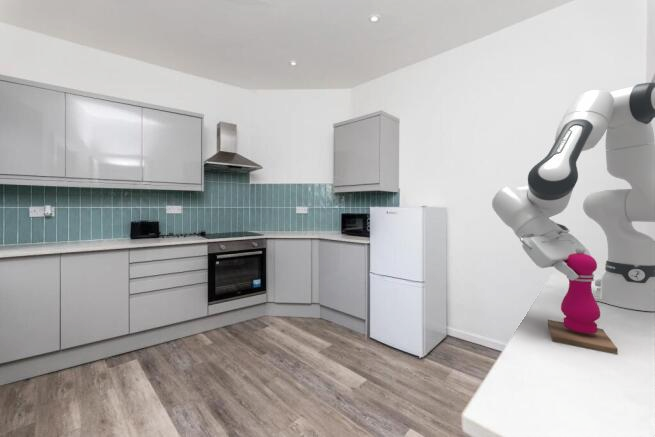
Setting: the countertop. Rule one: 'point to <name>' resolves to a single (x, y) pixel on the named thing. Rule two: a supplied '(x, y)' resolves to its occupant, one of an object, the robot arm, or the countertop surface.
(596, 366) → the countertop surface
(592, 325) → the pepper mill
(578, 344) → the walnut board
